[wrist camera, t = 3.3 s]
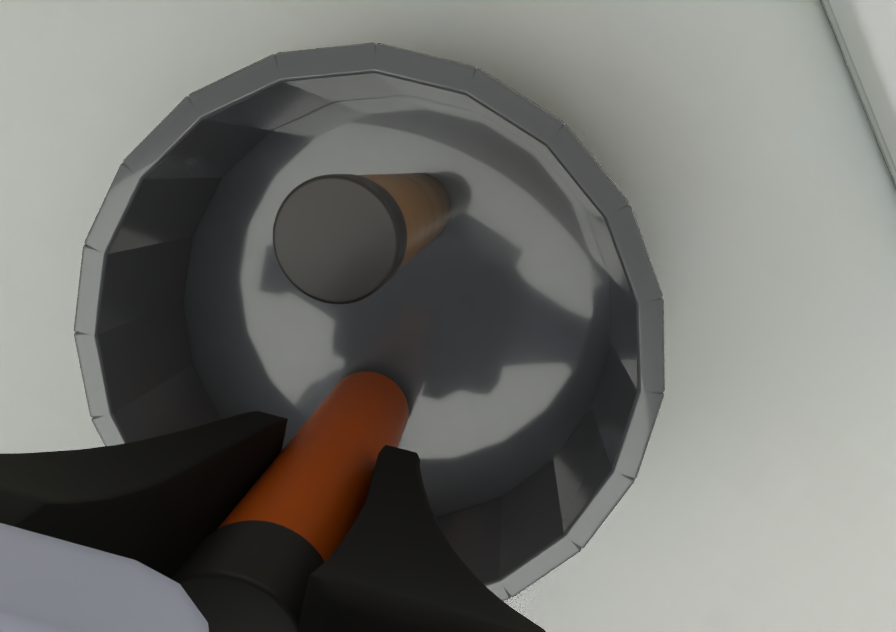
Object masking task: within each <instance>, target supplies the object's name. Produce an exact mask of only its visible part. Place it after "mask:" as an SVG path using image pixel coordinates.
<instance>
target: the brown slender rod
mask: <svg viewBox="0 0 896 632" xmlns="http://www.w3.org/2000/svg"><path fill="white" fill-rule="evenodd" d="M450 214H451V202H450V198H449V195H448V193H447V191H446V189H445V188H444V186H443V185H442V184H441V183H440V182H439V181H438V180H436V179H435V178H433V177H431V176H429V175H426V174H422V173H402V174H372V175H353V174H329V175H321V176H317V177H314V178H311V179H309V180H306V181H305V182H303V183H301V184H300V185H298V186H297V187H296V188H294V189H293V190H292V191H291V192H290V193H289V194H288V195H287V197H286V198H285V199H284V201H283V202H282V204H281V206H280V207H279V209H278V212H277V214H276V217H275V221H274V226H273V247H274V252H275V256H276V259H277V261H278V264H279V266H280V268H281V270H282V271H283V273H284V275H285V276H286V277H287V279H288V280H289V281H290V282H291V283H292V284H293V285H294V286H295V287H296V288H297V289H298V290H299V291H301V292H302V293H304V294H305V295H307V296H309V297H311V298H313V299H315V300H318V301H321V302H324V303H329V304H349V303H354V302H358V301H360V300H363V299H365V298H367V297H369V296H371V295H372V294H374V293H375V292H377V291H378V290H379V289H380V288H381V287H382V286H384V285H385V284H386V283H387V282H388V281H389V280H390V279H391V278H392V277H393V276H394V275H395V273H396V272H397V271H398V270H399V269H401V268H402V267H403V266H404V265H405V264H406V263H407V262H409V261H410V260H411V259H412V258H413V257H414V256H415V255H416V254H418V253H419V252H420V251H421V250H422V249H423V248H424V247H426V246H427V245H428V244H429V243H430V242H431V241H432V240H434V239H435V238H436V237H437V236H438V235H439V234H440V233H441V232H442V231H443V230H444V229H445V227H446V226H447V224H448V221H449V218H450Z"/></svg>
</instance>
